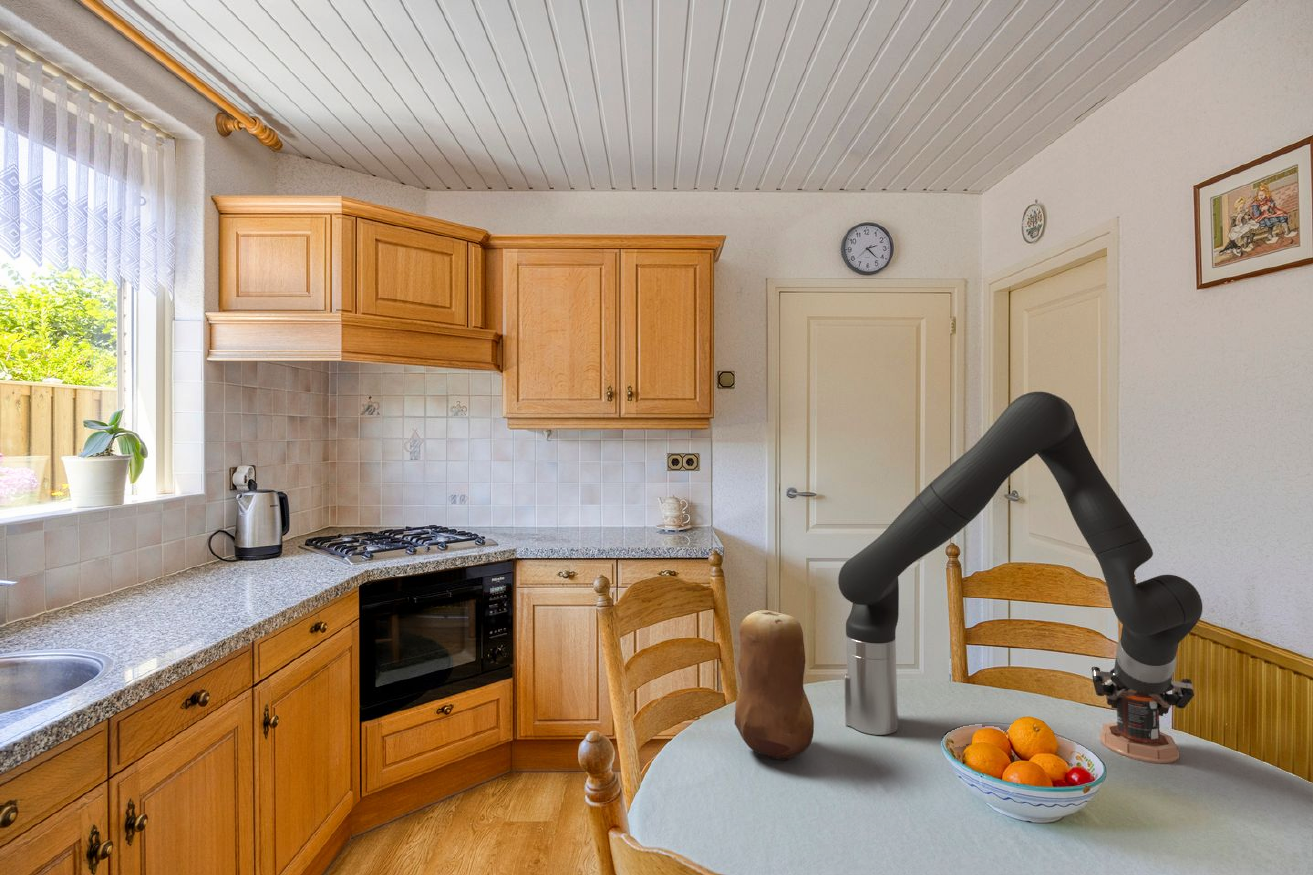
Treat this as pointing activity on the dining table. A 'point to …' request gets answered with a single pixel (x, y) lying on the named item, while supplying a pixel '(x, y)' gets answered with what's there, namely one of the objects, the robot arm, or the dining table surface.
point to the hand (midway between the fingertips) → (1135, 706)
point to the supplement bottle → (1138, 718)
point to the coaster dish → (1139, 746)
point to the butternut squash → (773, 686)
